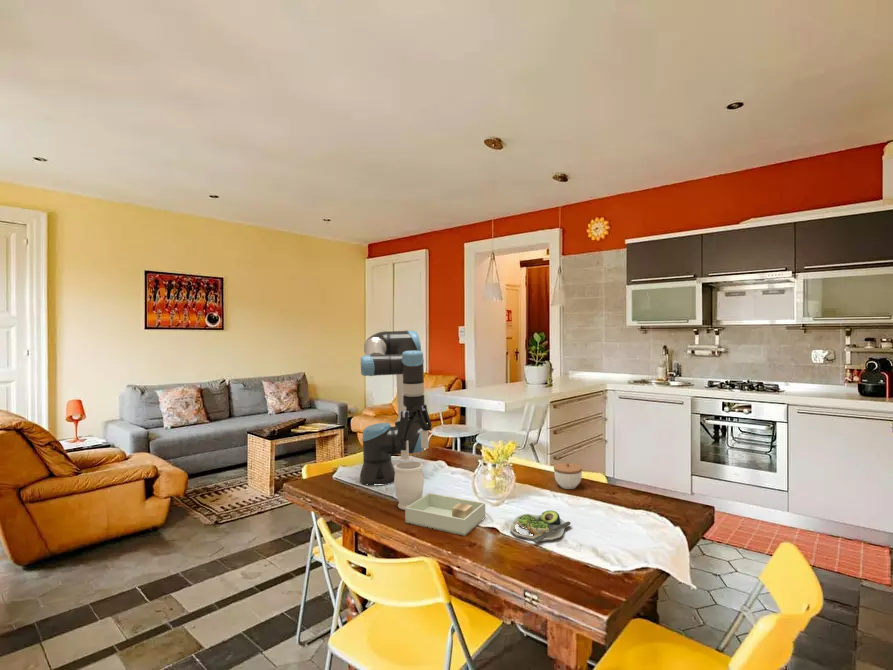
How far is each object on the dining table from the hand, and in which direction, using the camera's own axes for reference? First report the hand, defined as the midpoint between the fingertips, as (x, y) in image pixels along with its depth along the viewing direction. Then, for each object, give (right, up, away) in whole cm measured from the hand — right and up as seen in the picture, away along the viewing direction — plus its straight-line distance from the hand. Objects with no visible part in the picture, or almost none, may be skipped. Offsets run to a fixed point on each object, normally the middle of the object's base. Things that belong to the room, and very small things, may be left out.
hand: (415, 453), depth 175 cm
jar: (-2, -20, +2) cm, 20 cm away
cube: (+16, -19, -14) cm, 29 cm away
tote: (+11, -20, -11) cm, 25 cm away
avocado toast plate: (+41, -20, -20) cm, 49 cm away
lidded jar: (+59, -18, +18) cm, 64 cm away
